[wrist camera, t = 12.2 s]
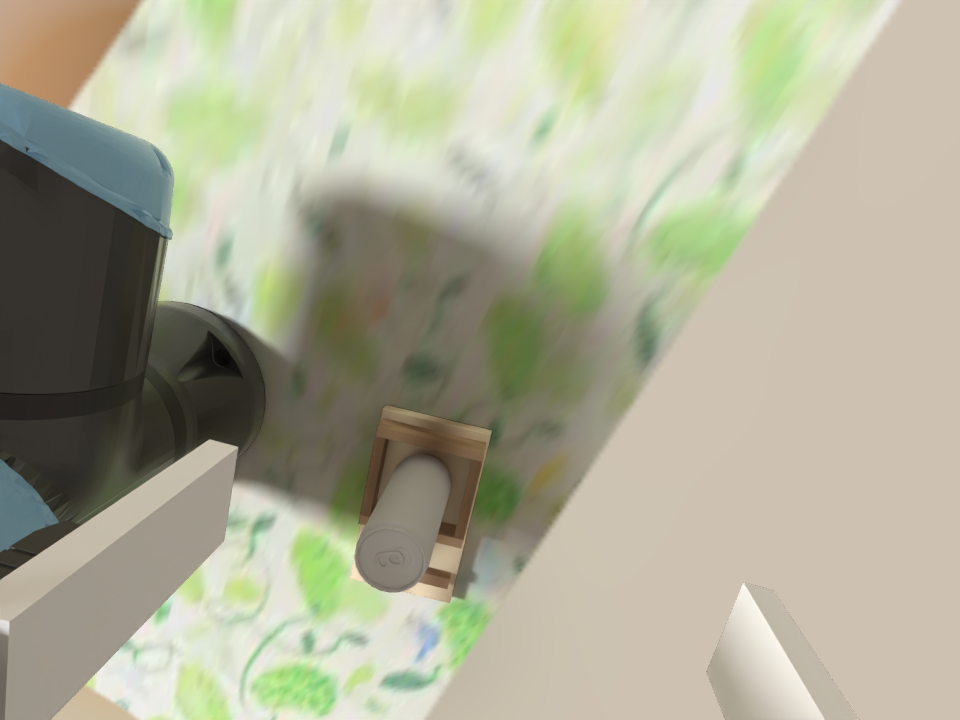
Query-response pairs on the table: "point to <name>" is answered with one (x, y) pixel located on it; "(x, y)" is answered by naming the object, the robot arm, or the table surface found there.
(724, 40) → the table surface
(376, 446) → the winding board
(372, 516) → the beverage can
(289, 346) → the table surface
